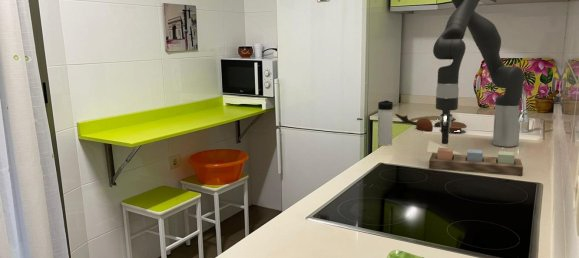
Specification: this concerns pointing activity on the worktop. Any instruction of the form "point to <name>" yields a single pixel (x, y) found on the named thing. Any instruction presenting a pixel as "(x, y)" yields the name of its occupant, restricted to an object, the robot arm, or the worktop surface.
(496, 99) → the robot arm
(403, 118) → the tree branch
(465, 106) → the worktop surface
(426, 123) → the potato
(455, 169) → the button panel
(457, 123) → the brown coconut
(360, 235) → the worktop surface
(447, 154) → the terracotta button
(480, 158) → the slate blue button
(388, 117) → the travel mug
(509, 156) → the sage green button
